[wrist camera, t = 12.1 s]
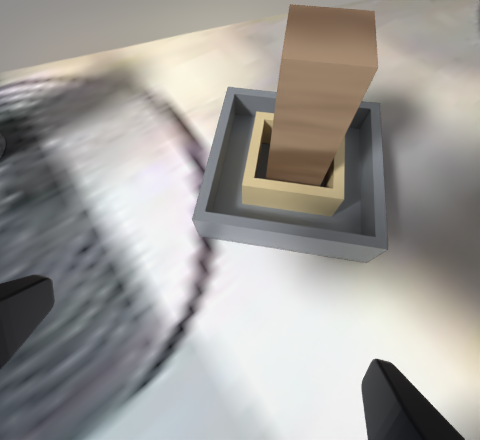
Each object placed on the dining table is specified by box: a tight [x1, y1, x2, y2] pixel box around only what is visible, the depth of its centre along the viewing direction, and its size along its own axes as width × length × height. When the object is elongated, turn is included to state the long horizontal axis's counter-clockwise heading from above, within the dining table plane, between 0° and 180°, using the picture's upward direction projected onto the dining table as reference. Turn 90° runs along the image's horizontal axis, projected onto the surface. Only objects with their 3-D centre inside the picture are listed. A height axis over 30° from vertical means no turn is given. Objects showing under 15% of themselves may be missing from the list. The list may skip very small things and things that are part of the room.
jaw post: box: [266, 5, 378, 187], centre depth 19 cm, size 4×4×12 cm
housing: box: [192, 87, 388, 263], centre depth 23 cm, size 14×14×4 cm
